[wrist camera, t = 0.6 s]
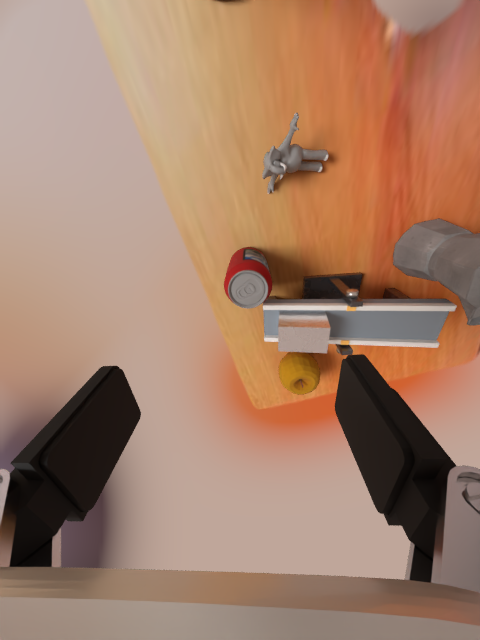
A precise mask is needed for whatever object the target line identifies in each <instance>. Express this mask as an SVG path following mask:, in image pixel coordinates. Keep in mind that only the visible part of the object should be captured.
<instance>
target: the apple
mask: <svg viewBox="0 0 480 640" xmlns="http://www.w3.org/2000/svg"><path fill="white" fill-rule="evenodd" d="M279 378H280V380H281V383H282V385H283V386H284V387H285V388H286V389H287V390H289V391H290V392H292V393H294V394H298V395H302V394H306V393H309V392H312V391H313V390H314V389H316V387H317V385H318V384H319V380H320V368H319V366H318V363H317V361H316V360H315V359H314V358H313V357H312V356H310V355H309V354H307V353H305V352H289V353H288V354H287V355H286V356H285V357H284V358H283V359H282V360H281V362H280V364H279Z"/></svg>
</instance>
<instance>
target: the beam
mask: <svg viewBox="0 0 480 640" xmlns="http://www.w3.org/2000/svg"><path fill="white" fill-rule="evenodd" d="M362 300H363V301H364V302H363V307H350V306H349V305H348V304H347V303H346V301H345V300H344V299H266V300H265V301H264V303H263V310H264V334H265V335H264V341H268V342H278V325H279V310H284V311H325V312H326V315H327V319H328V322H329V325H330V335H329V342H328V344H341V345H349V344H350V345H377V346H405V347H432V348H438V346H439V344H440V343H439V342H438V341H437V338H438V336H439V333H440V331H441V329H442V327H443V325H444V322H445V320H446V318H447V316H448V313H449V311H455V309H456V307H457V306H456V305H455V304H453V303H452V302H450V301H449V300H447V299H362Z"/></svg>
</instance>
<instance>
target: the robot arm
mask: <svg viewBox="0 0 480 640" xmlns="http://www.w3.org/2000/svg"><path fill="white" fill-rule="evenodd" d="M335 411H336V414H337V417H338V419H339V422H340V424H341V426H342V429H343V431H344V434H345V436H346V438H347V441H348V443H349V446H350V448H351V450H352V453H353V455H354V458H355V460H356V462H357V465H358V467H359V469H360V472H361V474H362V476H363V479H364V481H365V483H366V486H367V488H368V491H369V493H370V495H371V498H372V500H373V502H374V505H375V507H376V509H377V511H378V512H379V513H382V514H384V516H385V518H386V520H387V523H388V525H402V526H403V529H404V531H405V533H406V535H407V537H408V539H409V540H410V541H411V544H410V550H409V556H408V563H407V569H406V575H405V580H398V579H381V578H365V577H347V576H325V575H324V576H322V575H296V574H269V573H267V574H266V573H241V572H210V571H209V572H208V571H178V570H145V569H143V570H142V569H108V568H66V567H64V568H63V567H61V526H62V524H63V523H64V521H65V519H66V520H67V521H83V520H84V518H85V516H86V514H87V512H88V511H89V510H91V509H92V508H93V507H94V505H95V503H96V502H97V500H98V498H99V496H100V494H101V492H102V490H103V488H104V486H105V484H106V482H107V480H108V479H109V477H110V475H111V473H112V471H113V469H114V467H115V465H116V463H117V461H118V460H119V457H120V456H121V454H122V452H123V450H124V448H125V446H126V444H127V442H128V440H129V439H130V436H131V435H132V433H133V431H134V429H135V427H136V425H137V423H138V421H139V419H140V415H141V412H140V409H139V407H138V404H137V402H136V400H135V397H134V395H133V393H132V390H131V388H130V386H129V384H128V381H127V379H126V377H125V374H124V372H123V370H122V369H120V368H119V367H118V366H103V367H101V368H100V369H99V370H98V371H97V372H96V373H95V374H94V375H93V376H92V377H91V378H90V379H89V380H88V381H87V382H86V384H85V385H84V386H83V387H82V388H81V389H80V390H79V391H78V392H77V393H76V394H75V395H74V396H73V397H72V398H71V399H70V401H69V402H68V403H67V404H66V405H65V406H64V407H63V408H62V409H61V410H60V411H59V412H58V413H57V414H56V415H55V417H53V419H52V420H51V421H50V422H49V423H48V424H47V425H46V426H45V427H44V428H43V429H42V430H41V431H40V432H39V433H38V434H37V435H36V437H35V438H34V439H33V440H32V441H31V442H30V443H29V444H28V445H27V446H26V447H25V448H24V449H23V450H22V451H21V452H20V454H19V455H18V456H17V457H16V458H15V459H14V460H13V461H12V462H11V464H12V465H13V466H14V467H15V469H14V470H13V471H12V472H11V473H10V472H8V471H7V470H6V469H0V640H480V469H478V468H474V467H470V466H456V465H455V463H454V462H453V461H452V460H451V458H450V457H449V456H448V455H447V454H446V452H445V451H444V450H443V449H442V447H441V446H440V445H439V444H438V442H437V441H436V440H435V439H434V437H433V436H432V435H431V434H430V432H429V431H428V430H427V429H426V427H425V426H424V425H423V424H422V423H421V421H420V420H419V419H418V418H417V416H416V415H415V414H414V413H413V411H412V410H411V409H410V408H409V406H408V405H407V404H406V403H405V401H404V400H403V399H402V398H401V397H400V395H399V394H398V393H397V392H396V391H395V390H394V389H392V388H390V386H389V385H388V384H387V382H386V381H385V380H384V379H383V377H382V376H381V375H380V374H379V372H378V371H377V370H376V369H375V367H374V366H373V365H372V363H371V362H370V361H369V360H368V358H367V357H366V356H365V355H348V356H347V358H346V359H343V360H342V365H341V371H340V377H339V383H338V390H337V396H336V402H335Z"/></svg>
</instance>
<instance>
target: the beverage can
mask: <svg viewBox="0 0 480 640" xmlns="http://www.w3.org/2000/svg"><path fill="white" fill-rule="evenodd" d="M224 289H225V292H226V295H227V296H228V298H229V299H230V300H231V301H232V302H233V303H234V304H236V305H237V306H239V307H242V308H254V307H257V306H259V305H260V304H262V303H263V302H264V301H265V300H266V299H267V298H268V297H269V295H270V293H271V290H272V279H271V275H270V271H269V267H268V264H267V261H266V258H265V256H264V255H263V254H262V253H261V252H260V251H259V250H257V249H255V248H251V247H246V248H242V249H240V250H238V251H237V252H236V253H235V254H234V255H233V256H232V258H231V260H230V263H229V266H228V270H227V273H226V277H225V281H224Z"/></svg>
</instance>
